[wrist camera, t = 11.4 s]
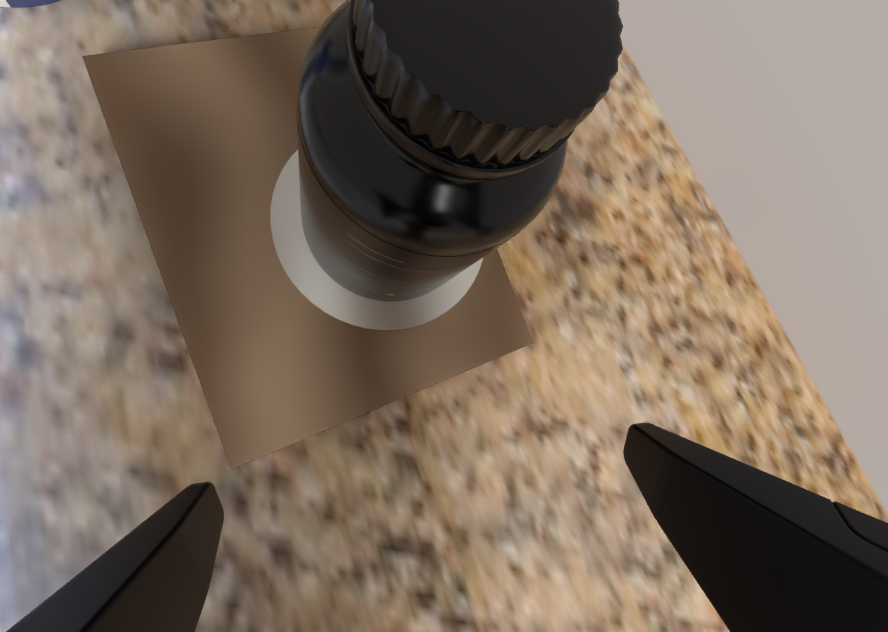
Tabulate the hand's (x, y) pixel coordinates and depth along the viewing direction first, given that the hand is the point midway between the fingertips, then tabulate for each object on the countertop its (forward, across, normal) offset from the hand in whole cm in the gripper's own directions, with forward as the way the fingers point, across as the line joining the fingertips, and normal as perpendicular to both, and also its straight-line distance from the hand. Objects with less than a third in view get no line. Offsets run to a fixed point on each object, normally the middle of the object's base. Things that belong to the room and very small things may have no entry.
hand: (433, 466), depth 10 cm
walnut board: (+13, -3, +1) cm, 13 cm away
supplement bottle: (+12, 0, +2) cm, 12 cm away
